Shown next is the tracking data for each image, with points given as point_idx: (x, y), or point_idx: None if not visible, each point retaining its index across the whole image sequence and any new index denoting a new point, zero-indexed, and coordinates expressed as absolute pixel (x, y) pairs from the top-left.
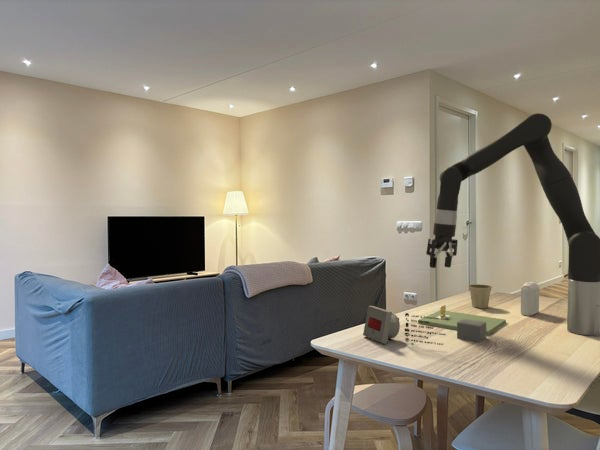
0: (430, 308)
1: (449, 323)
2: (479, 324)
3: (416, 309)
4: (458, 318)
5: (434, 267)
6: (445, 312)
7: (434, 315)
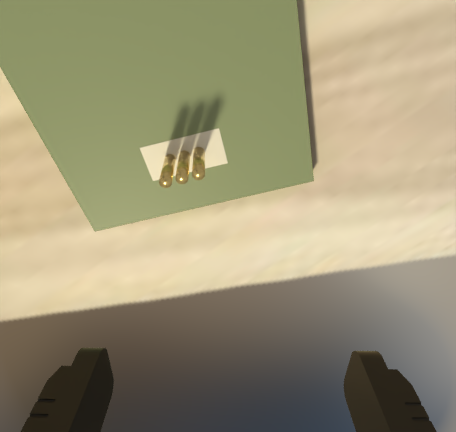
0: (80, 282)
1: (269, 55)
2: None
3: (140, 295)
4: (147, 91)
5: (378, 352)
6: (165, 161)
7: (197, 189)
